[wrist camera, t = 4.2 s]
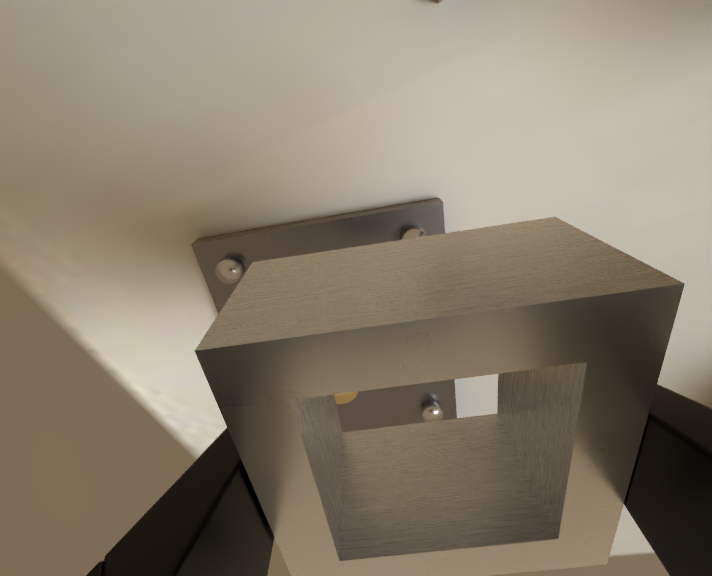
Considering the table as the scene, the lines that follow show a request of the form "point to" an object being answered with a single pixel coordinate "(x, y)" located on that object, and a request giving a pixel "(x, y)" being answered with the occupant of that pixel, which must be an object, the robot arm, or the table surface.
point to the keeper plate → (405, 221)
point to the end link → (438, 363)
